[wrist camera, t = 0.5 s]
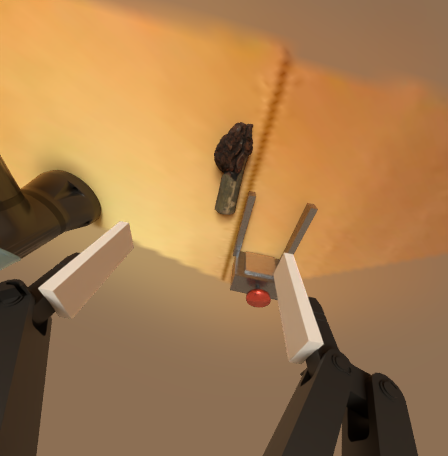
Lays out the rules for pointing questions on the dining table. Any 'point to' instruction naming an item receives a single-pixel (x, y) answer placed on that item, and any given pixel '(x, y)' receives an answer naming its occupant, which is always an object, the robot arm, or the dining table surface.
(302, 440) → the robot arm
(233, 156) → the morel mushroom
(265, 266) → the cradle
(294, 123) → the dining table surface
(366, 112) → the dining table surface
